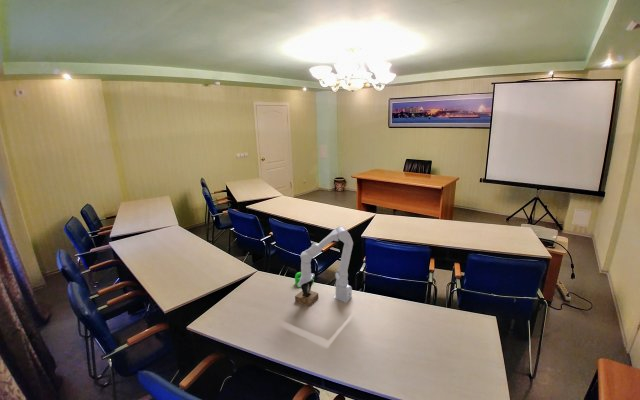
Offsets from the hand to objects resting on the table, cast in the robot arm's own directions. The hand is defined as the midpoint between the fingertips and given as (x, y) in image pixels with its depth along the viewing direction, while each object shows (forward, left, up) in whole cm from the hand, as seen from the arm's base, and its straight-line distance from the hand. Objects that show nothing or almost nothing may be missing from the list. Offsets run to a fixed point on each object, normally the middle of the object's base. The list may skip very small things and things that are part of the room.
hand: (306, 292), depth 170 cm
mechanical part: (+12, -15, -5) cm, 20 cm away
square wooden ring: (0, 0, -5) cm, 5 cm away
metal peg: (0, 0, -3) cm, 3 cm away
